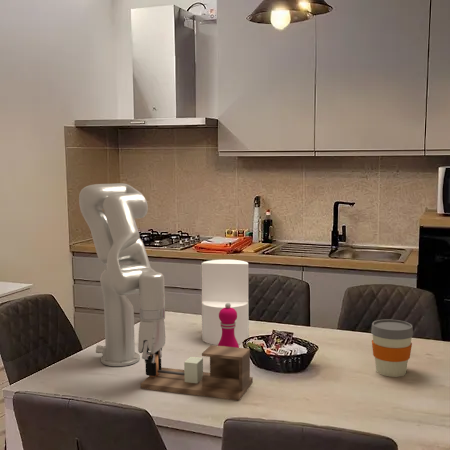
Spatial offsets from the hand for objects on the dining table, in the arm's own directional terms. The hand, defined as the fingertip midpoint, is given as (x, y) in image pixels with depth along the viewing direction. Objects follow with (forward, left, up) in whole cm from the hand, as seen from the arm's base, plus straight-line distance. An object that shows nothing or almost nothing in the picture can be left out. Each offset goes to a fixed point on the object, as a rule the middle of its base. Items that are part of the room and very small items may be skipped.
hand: (153, 372), depth 182 cm
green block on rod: (+7, 0, -1) cm, 7 cm away
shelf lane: (+14, 0, -2) cm, 14 cm away
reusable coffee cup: (+68, +28, -3) cm, 74 cm away
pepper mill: (+17, +21, -3) cm, 27 cm away
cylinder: (+8, +46, -3) cm, 47 cm away
